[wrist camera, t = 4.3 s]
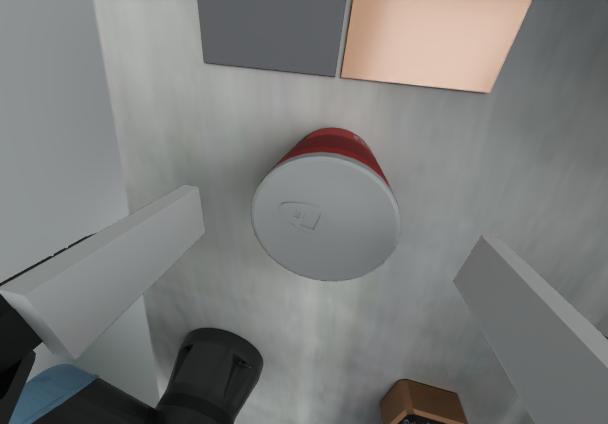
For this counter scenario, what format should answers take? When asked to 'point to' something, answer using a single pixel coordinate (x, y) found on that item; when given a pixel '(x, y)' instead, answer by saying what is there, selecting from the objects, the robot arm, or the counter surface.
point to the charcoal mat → (273, 34)
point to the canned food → (327, 209)
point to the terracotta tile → (432, 41)
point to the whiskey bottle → (421, 405)
